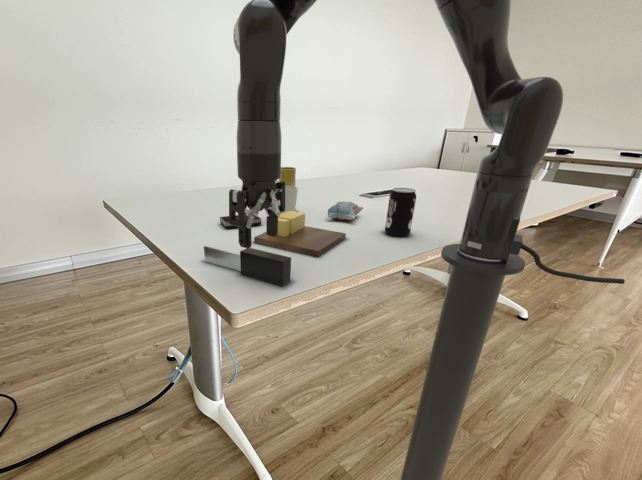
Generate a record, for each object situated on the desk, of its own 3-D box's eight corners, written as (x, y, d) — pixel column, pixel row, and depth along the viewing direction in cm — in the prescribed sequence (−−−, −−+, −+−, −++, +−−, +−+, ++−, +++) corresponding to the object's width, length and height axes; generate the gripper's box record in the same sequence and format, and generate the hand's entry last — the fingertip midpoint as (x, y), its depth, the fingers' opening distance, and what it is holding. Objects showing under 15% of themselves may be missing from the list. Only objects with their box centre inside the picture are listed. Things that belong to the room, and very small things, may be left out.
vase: (276, 209, 119) (277, 166, 113) (294, 209, 119) (295, 166, 113) (278, 214, 113) (279, 169, 107) (296, 213, 114) (298, 169, 108)
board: (345, 238, 90) (346, 233, 89) (317, 257, 78) (318, 250, 77) (287, 227, 99) (287, 222, 98) (254, 242, 87) (254, 237, 86)
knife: (290, 281, 66) (291, 257, 64) (282, 286, 64) (283, 262, 62) (209, 259, 77) (208, 237, 75) (200, 262, 74) (198, 241, 72)
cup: (266, 218, 108) (266, 186, 104) (290, 216, 111) (291, 184, 107) (275, 225, 101) (275, 190, 97) (300, 222, 104) (302, 189, 100)
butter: (304, 227, 94) (305, 213, 92) (291, 233, 89) (291, 218, 87) (289, 224, 97) (289, 210, 95) (275, 230, 91) (275, 216, 90)
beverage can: (405, 239, 90) (412, 193, 85) (380, 234, 94) (387, 189, 89) (412, 233, 95) (420, 189, 90) (389, 229, 98) (395, 186, 93)
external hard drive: (219, 223, 103) (219, 217, 102) (254, 219, 107) (254, 213, 106) (226, 229, 97) (225, 222, 96) (262, 225, 101) (262, 219, 100)
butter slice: (289, 235, 88) (289, 219, 86) (285, 237, 86) (285, 221, 85) (272, 231, 90) (272, 216, 89) (268, 233, 89) (268, 218, 87)
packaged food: (362, 215, 112) (364, 200, 110) (353, 224, 102) (355, 208, 100) (336, 213, 115) (337, 198, 113) (325, 221, 105) (326, 205, 103)
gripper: (251, 154, 51) (252, 256, 58) (299, 148, 62) (295, 235, 69) (213, 151, 55) (219, 247, 61) (265, 146, 66) (264, 228, 72)
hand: (259, 241), depth 65 cm, fingers open, 8 cm apart
